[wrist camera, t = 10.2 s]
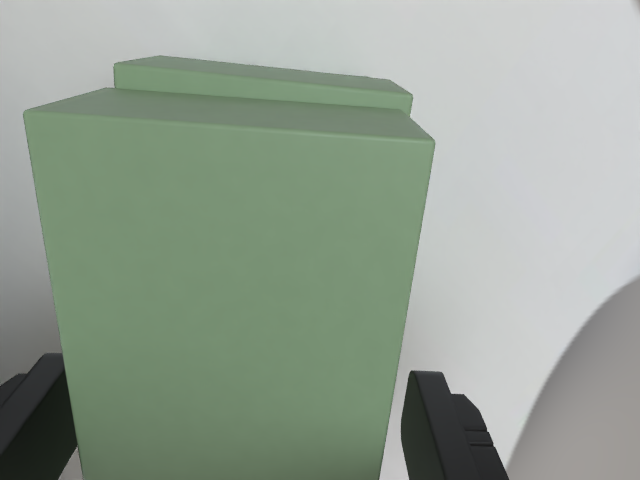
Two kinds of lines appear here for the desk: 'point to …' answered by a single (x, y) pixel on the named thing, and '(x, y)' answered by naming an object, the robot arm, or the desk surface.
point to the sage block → (228, 279)
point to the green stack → (258, 83)
